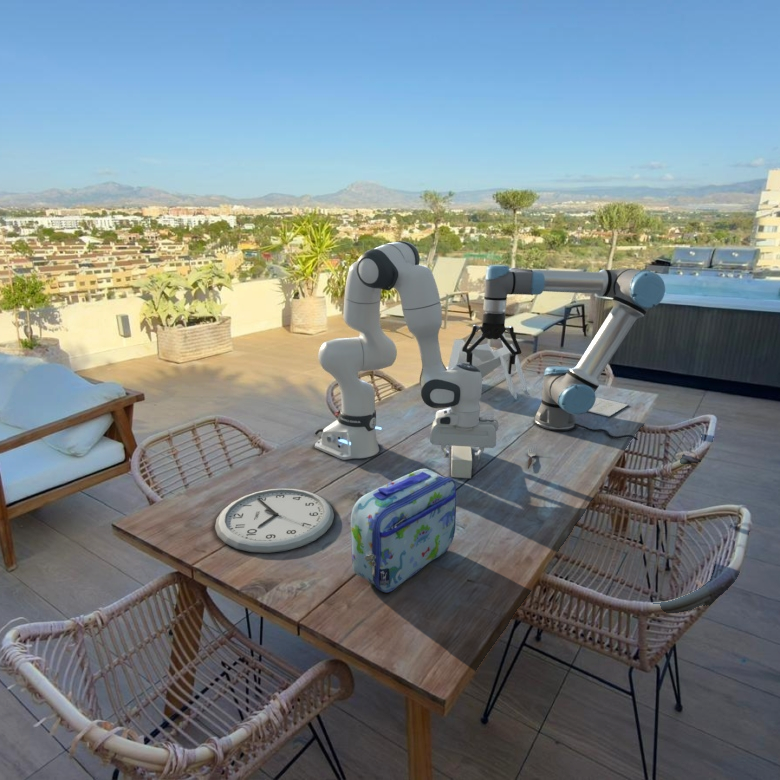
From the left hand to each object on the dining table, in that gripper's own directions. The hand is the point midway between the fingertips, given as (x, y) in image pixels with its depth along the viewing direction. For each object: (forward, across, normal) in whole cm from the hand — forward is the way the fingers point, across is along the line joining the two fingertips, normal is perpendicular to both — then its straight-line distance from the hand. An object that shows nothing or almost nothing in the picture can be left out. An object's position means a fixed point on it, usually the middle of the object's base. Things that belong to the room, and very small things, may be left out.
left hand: (461, 458), depth 163 cm
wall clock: (+4, +49, +34) cm, 60 cm away
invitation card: (+5, -64, -70) cm, 95 cm away
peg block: (+5, 0, -8) cm, 9 cm away
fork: (+5, -24, -11) cm, 26 cm away
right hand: (-20, -10, -30) cm, 37 cm away
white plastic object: (+6, -12, -84) cm, 85 cm away
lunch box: (+4, +15, +50) cm, 52 cm away
